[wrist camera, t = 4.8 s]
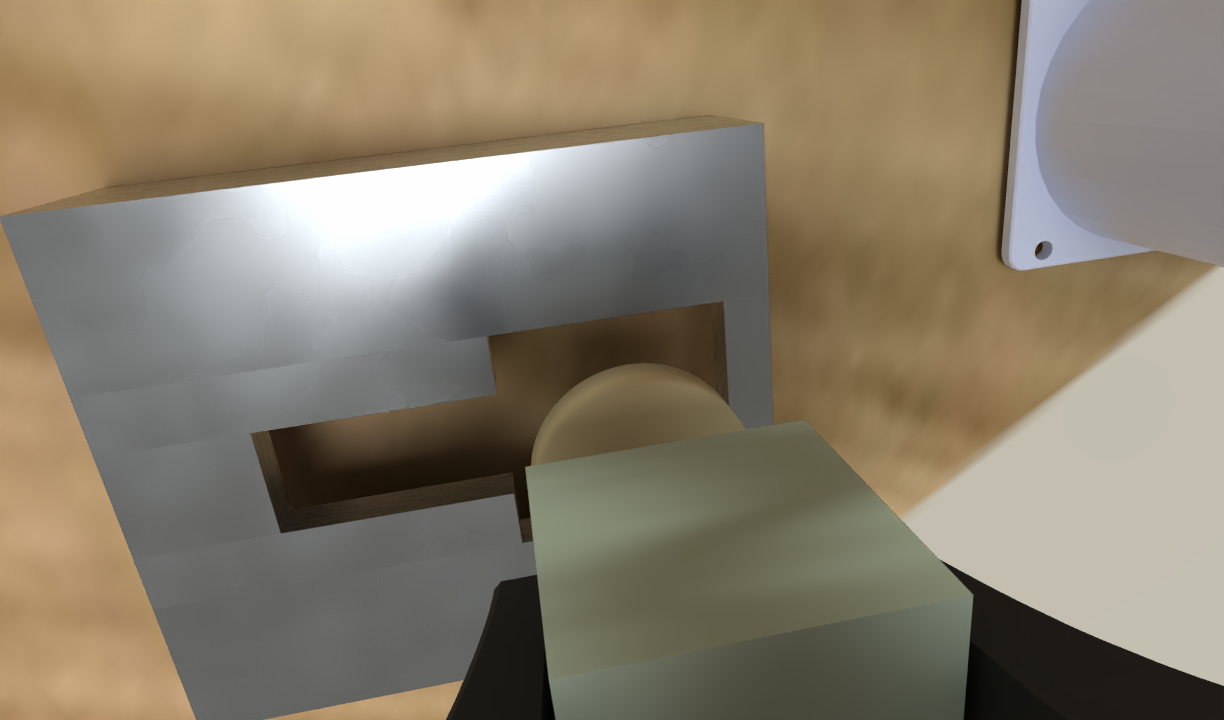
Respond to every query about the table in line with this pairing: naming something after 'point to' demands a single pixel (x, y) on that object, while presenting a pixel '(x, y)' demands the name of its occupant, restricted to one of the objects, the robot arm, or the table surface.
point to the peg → (728, 568)
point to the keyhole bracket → (364, 373)
